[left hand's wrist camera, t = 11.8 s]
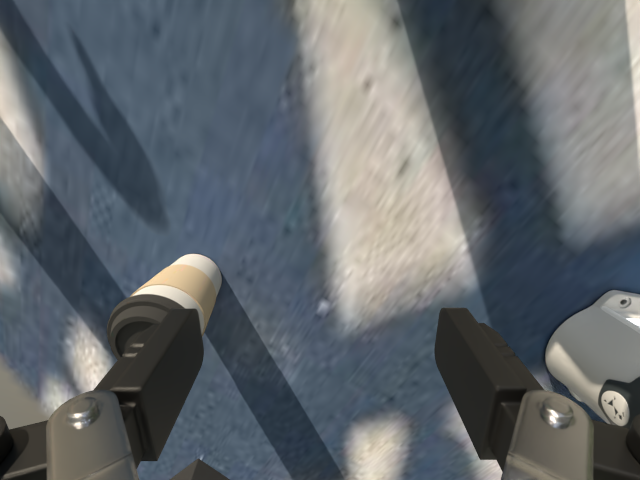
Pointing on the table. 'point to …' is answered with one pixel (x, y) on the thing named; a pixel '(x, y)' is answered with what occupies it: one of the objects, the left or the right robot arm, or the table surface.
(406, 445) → the table surface
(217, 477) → the bar
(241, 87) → the table surface
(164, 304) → the coffee cup
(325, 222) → the table surface
